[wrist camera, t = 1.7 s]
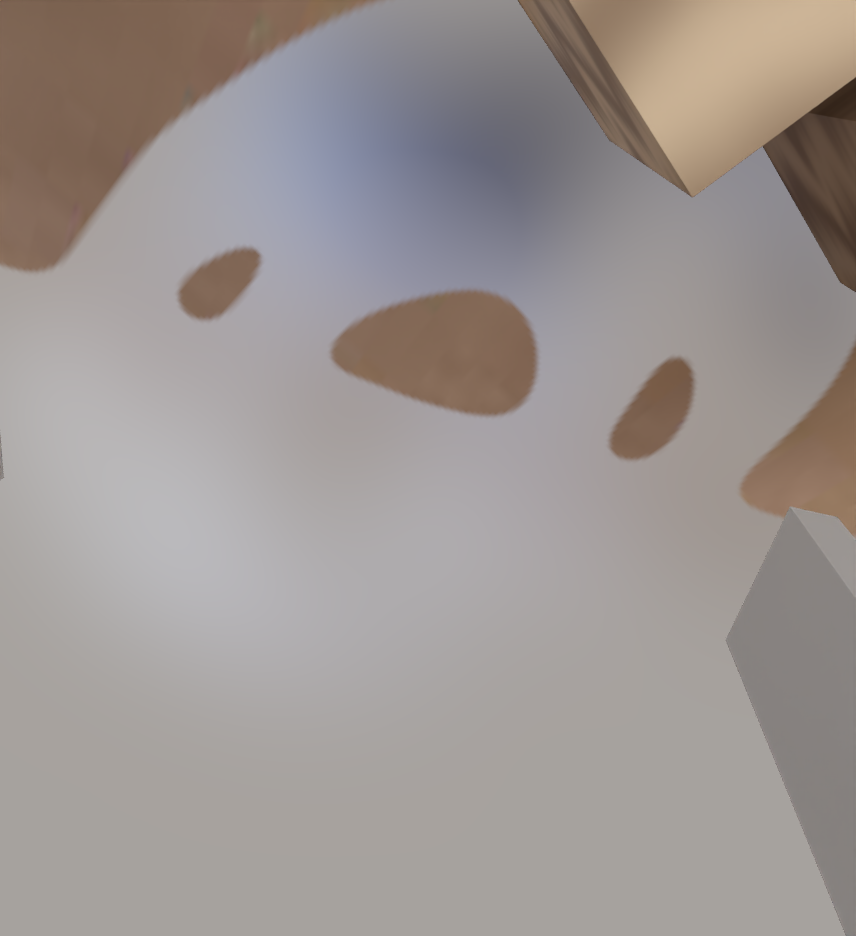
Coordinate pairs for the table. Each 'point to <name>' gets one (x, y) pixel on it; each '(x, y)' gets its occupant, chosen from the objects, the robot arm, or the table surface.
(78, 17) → the table surface
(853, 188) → the stand
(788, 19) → the step
